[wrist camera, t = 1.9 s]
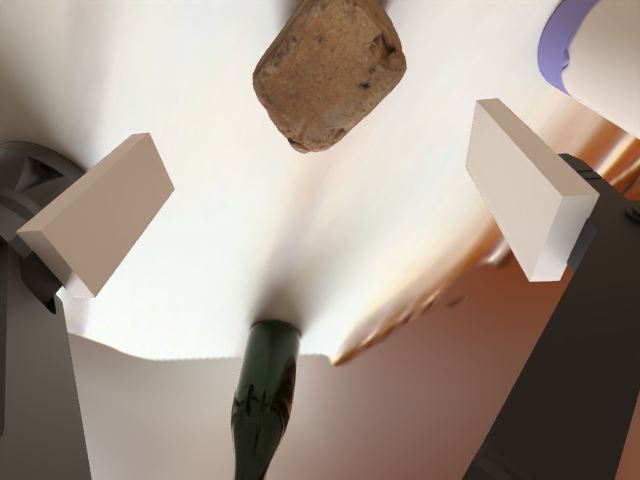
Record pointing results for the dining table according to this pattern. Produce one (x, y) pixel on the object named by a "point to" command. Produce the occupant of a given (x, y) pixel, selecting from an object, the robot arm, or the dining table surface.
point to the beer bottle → (263, 397)
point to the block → (328, 70)
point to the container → (596, 57)
